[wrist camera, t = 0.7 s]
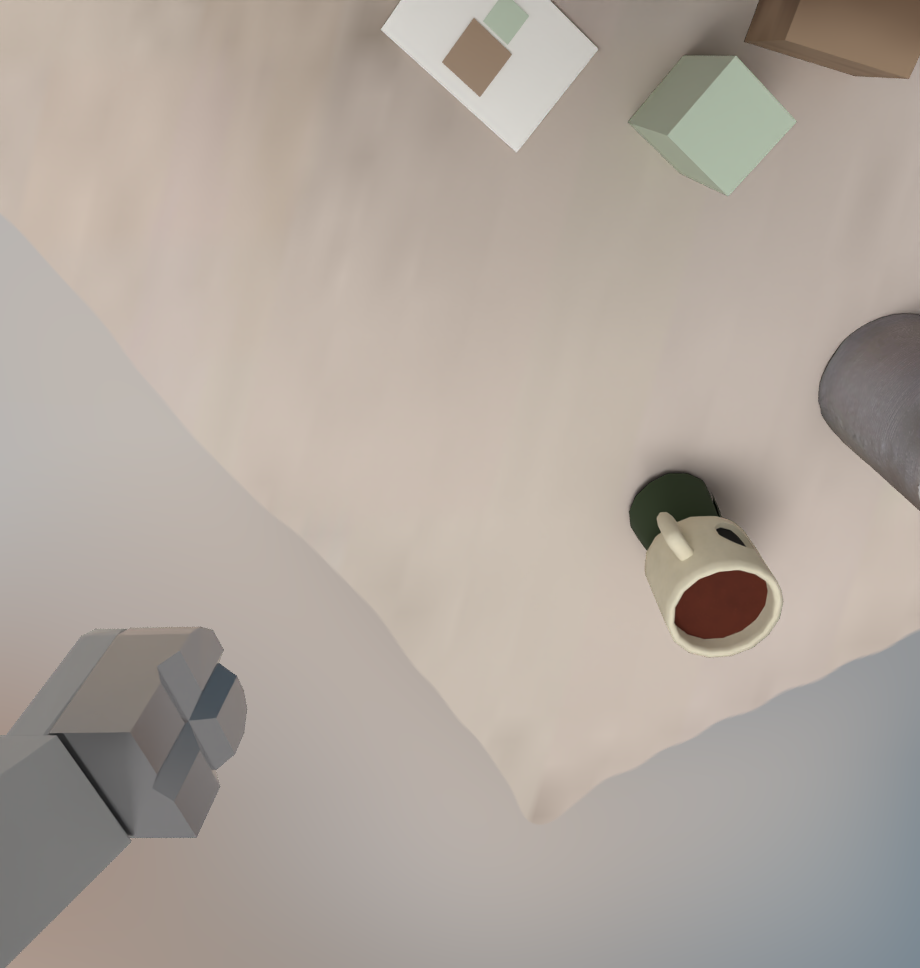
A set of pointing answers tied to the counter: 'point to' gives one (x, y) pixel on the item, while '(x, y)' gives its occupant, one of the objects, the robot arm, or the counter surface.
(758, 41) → the walnut base
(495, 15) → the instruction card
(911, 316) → the pillar candle
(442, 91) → the counter surface
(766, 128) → the sage brick
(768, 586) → the character mug
